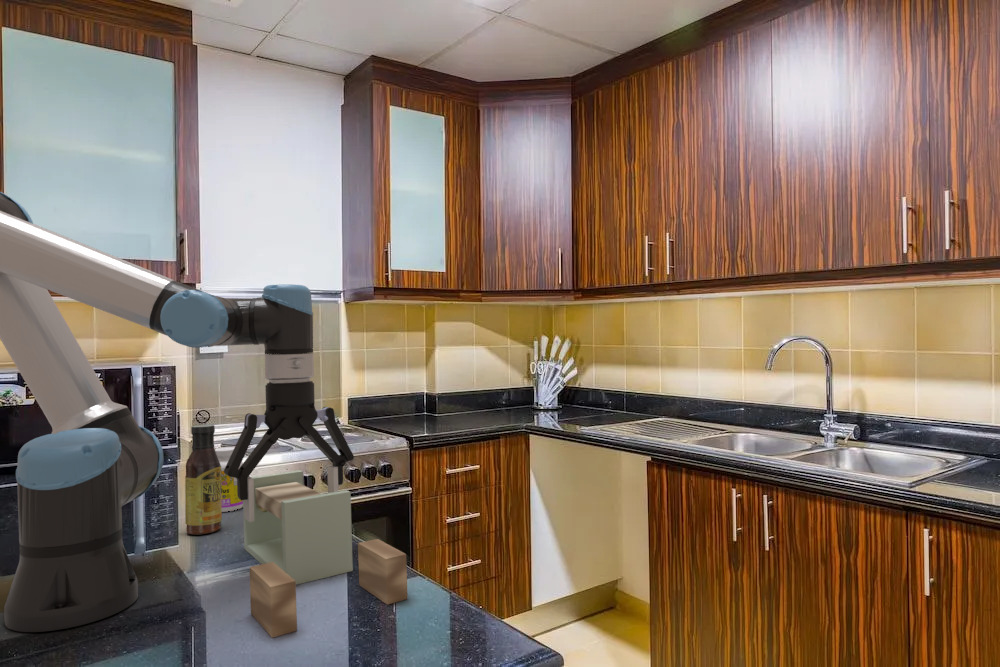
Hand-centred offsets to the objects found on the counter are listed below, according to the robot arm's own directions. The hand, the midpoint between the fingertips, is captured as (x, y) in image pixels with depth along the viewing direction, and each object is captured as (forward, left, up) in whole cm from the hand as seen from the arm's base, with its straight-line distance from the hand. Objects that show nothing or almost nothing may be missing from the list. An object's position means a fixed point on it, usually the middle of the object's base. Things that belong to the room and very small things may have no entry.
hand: (293, 512), depth 107 cm
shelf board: (0, 0, 0) cm, 1 cm away
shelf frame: (0, 0, -8) cm, 8 cm away
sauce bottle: (+7, +28, -8) cm, 30 cm away
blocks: (-13, -18, -8) cm, 23 cm away
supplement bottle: (+21, +37, -8) cm, 43 cm away
